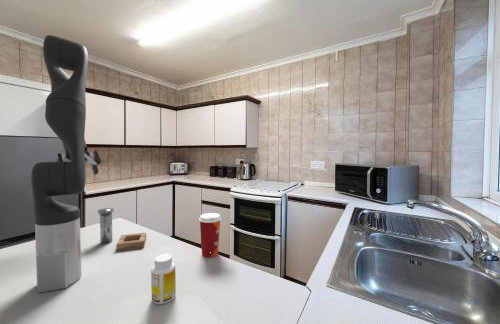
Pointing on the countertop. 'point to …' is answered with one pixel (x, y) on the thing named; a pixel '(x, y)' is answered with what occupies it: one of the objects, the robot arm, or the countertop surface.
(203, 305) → the countertop surface
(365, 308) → the countertop surface
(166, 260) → the supplement bottle
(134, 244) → the collar block
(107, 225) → the pin
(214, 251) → the paper cup
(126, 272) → the countertop surface
